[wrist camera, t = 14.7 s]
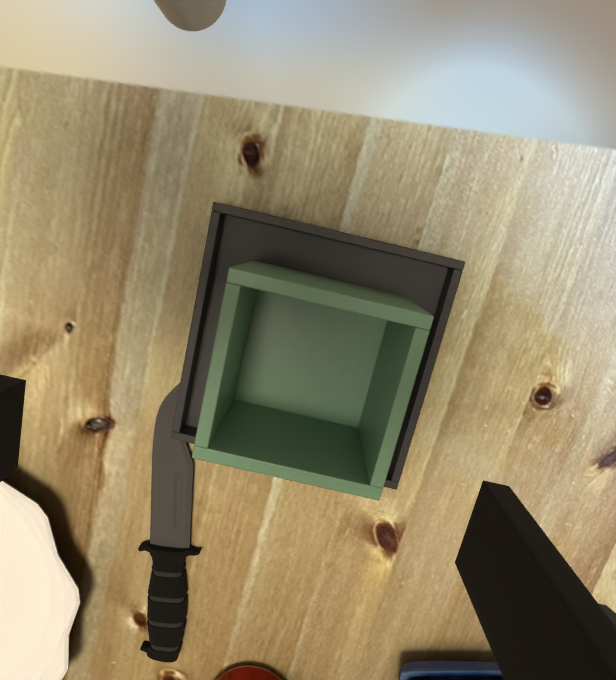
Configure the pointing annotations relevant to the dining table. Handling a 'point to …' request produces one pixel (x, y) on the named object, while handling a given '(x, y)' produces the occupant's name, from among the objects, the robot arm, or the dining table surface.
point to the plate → (32, 592)
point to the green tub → (309, 378)
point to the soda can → (248, 673)
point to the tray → (322, 260)
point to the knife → (168, 537)
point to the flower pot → (450, 670)
